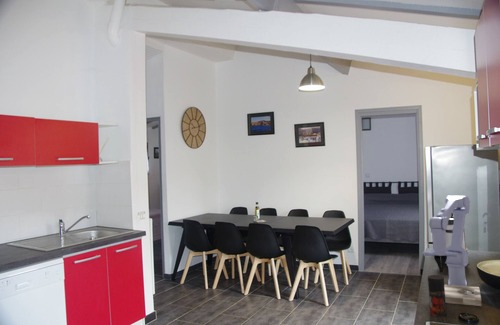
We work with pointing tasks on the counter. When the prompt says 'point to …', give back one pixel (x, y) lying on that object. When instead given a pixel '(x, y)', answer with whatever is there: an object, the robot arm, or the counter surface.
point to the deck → (462, 295)
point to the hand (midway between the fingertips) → (441, 271)
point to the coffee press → (449, 233)
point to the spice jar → (437, 295)
